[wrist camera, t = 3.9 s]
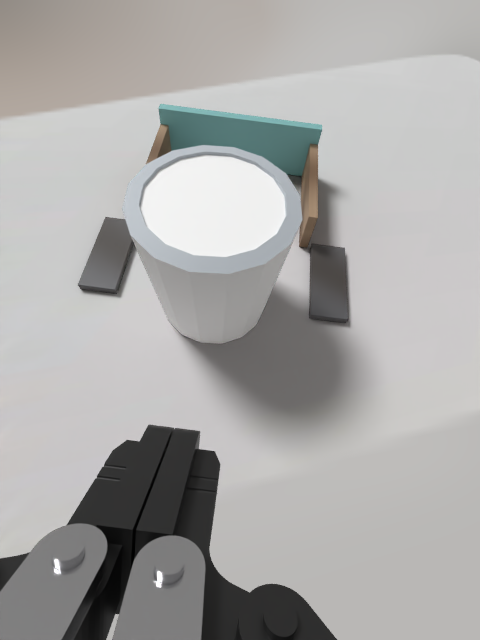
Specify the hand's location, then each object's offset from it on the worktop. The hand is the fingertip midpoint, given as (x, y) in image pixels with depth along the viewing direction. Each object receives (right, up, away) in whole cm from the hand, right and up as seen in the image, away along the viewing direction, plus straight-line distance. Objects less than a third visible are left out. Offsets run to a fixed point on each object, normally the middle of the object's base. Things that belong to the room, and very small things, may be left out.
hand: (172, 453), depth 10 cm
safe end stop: (+2, +15, +15) cm, 21 cm away
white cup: (+1, +5, +9) cm, 11 cm away
